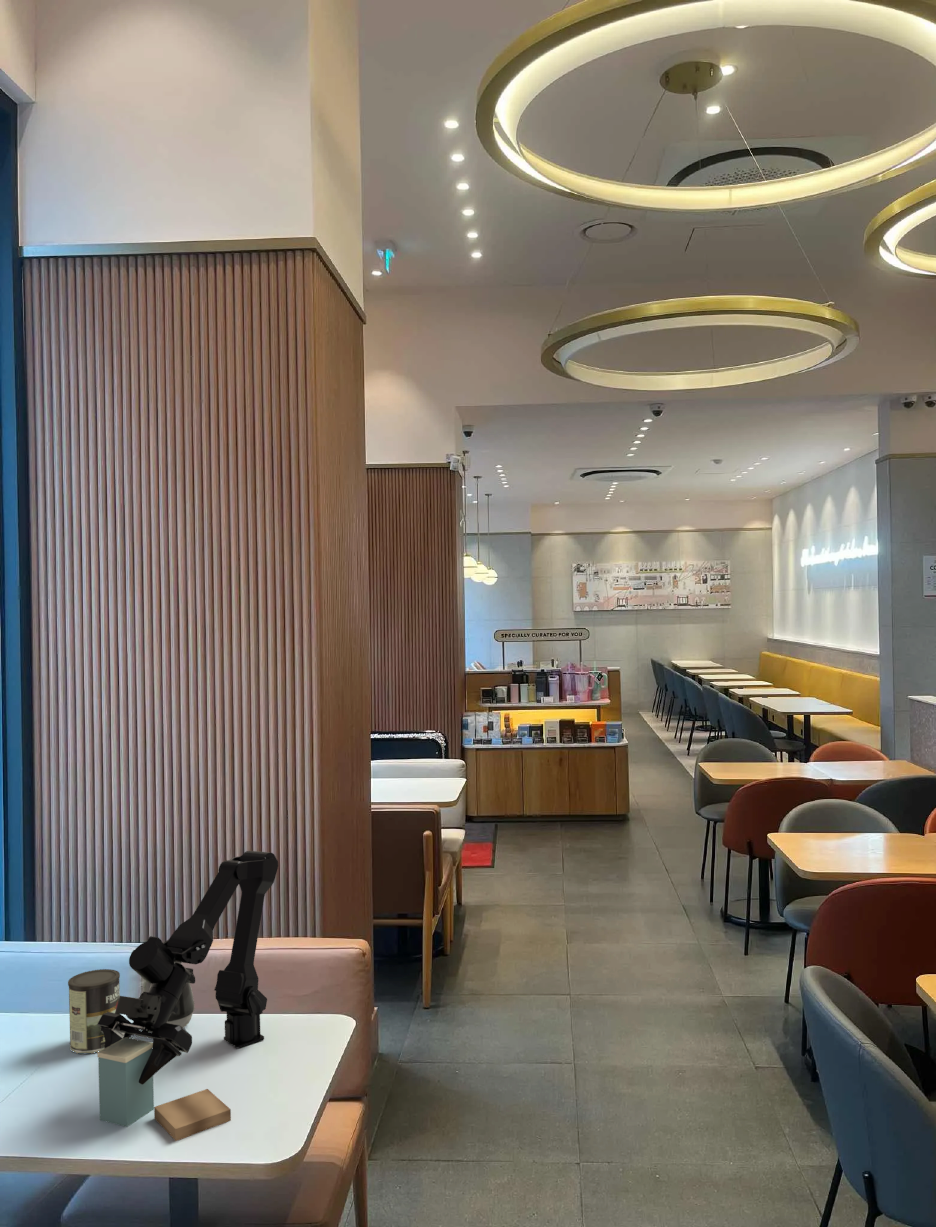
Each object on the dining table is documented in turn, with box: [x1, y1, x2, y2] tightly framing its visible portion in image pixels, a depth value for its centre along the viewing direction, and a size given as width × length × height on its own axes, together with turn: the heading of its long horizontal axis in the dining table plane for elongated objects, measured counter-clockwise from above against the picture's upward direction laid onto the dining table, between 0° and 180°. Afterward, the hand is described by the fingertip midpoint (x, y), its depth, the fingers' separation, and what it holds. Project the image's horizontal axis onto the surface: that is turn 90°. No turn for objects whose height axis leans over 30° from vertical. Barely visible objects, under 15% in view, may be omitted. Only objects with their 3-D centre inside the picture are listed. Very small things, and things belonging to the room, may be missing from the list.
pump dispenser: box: [148, 961, 195, 1029], centre depth 206 cm, size 10×10×15 cm
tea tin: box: [97, 1037, 155, 1128], centre depth 168 cm, size 7×7×12 cm
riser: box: [153, 1088, 232, 1142], centre depth 166 cm, size 10×10×2 cm
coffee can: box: [67, 968, 121, 1054], centre depth 199 cm, size 10×10×14 cm
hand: (121, 1079), depth 167 cm, fingers open, 9 cm apart
